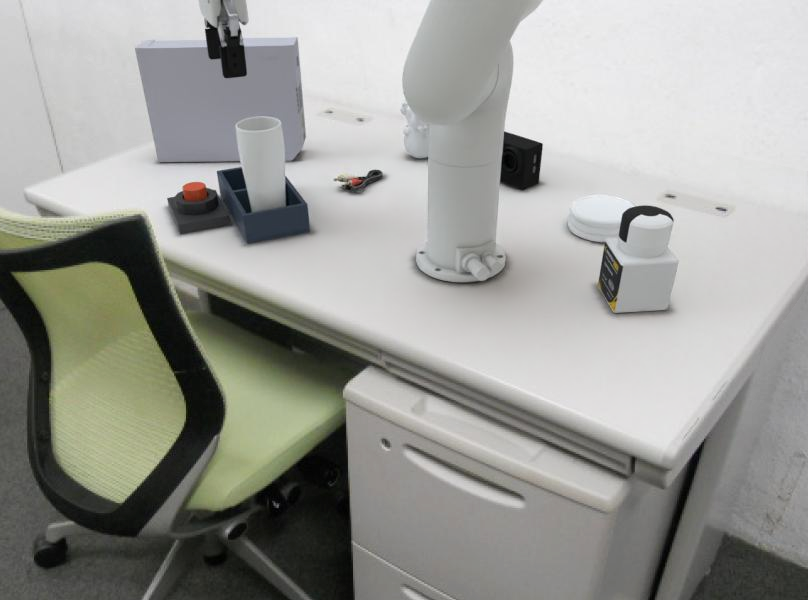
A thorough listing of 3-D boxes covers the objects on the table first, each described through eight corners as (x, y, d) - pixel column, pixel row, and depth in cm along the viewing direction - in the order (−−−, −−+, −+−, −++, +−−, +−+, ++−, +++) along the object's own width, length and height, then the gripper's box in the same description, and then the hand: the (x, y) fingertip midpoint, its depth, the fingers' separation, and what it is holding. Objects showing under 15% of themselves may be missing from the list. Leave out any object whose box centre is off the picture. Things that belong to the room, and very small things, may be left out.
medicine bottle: (596, 286, 104) (610, 201, 97) (649, 283, 104) (667, 198, 97) (612, 314, 98) (629, 226, 91) (668, 310, 99) (689, 223, 91)
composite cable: (376, 173, 137) (376, 159, 136) (394, 181, 134) (394, 167, 133) (332, 188, 132) (331, 174, 131) (349, 197, 129) (349, 182, 128)
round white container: (644, 223, 118) (649, 202, 116) (621, 249, 112) (625, 227, 110) (582, 209, 123) (585, 188, 121) (556, 233, 117) (559, 211, 114)
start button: (209, 200, 122) (207, 188, 121) (186, 204, 121) (184, 192, 120) (205, 191, 125) (203, 180, 124) (182, 195, 124) (180, 183, 123)
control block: (231, 225, 122) (227, 204, 120) (180, 234, 120) (175, 213, 118) (216, 199, 130) (213, 179, 128) (168, 207, 128) (164, 187, 126)
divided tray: (310, 232, 119) (307, 204, 116) (247, 244, 116) (242, 215, 114) (277, 187, 133) (274, 161, 130) (220, 197, 131) (216, 170, 128)
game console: (165, 151, 148) (143, 39, 136) (307, 150, 147) (297, 36, 135) (157, 162, 144) (134, 47, 132) (303, 161, 143) (293, 45, 130)
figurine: (393, 156, 143) (392, 89, 136) (419, 147, 147) (419, 81, 139) (420, 166, 139) (420, 97, 132) (446, 156, 143) (448, 88, 135)
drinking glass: (284, 231, 118) (273, 132, 108) (242, 228, 119) (227, 130, 110) (297, 212, 123) (287, 116, 114) (256, 210, 124) (243, 115, 115)
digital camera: (471, 175, 135) (473, 135, 131) (492, 167, 138) (495, 127, 134) (517, 192, 129) (521, 151, 125) (538, 183, 132) (543, 142, 127)
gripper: (255, -69, 92) (269, 81, 103) (225, -86, 105) (239, 49, 116) (192, -65, 90) (213, 88, 101) (169, -84, 103) (189, 54, 113)
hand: (227, 67), depth 108 cm, fingers open, 9 cm apart
